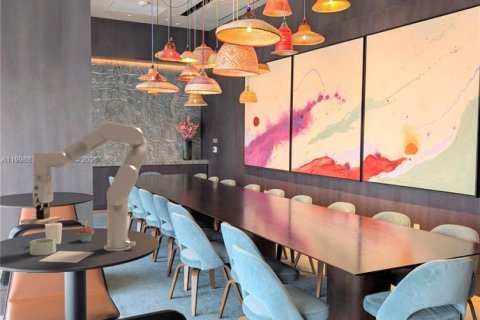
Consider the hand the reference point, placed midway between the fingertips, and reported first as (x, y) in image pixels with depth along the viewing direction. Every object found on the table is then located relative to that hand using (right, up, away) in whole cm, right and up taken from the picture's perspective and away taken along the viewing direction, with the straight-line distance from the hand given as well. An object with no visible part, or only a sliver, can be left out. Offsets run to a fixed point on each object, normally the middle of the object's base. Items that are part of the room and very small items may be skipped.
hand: (42, 217), depth 194 cm
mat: (+14, -17, -7) cm, 23 cm away
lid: (0, -2, 0) cm, 2 cm away
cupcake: (+10, -16, +26) cm, 32 cm away
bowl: (0, -17, +1) cm, 17 cm away
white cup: (-3, -16, +19) cm, 25 cm away
